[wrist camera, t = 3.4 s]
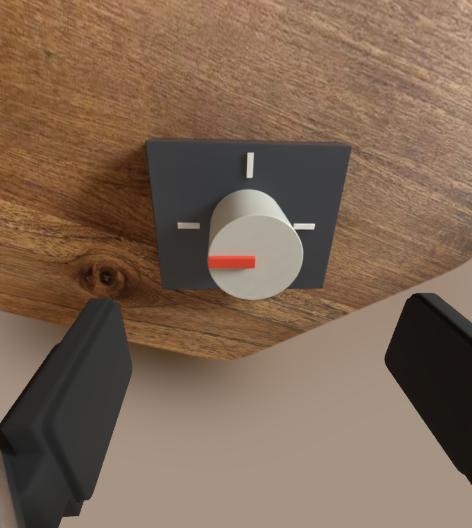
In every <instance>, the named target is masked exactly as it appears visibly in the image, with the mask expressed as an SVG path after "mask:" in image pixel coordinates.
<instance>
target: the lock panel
mask: <svg viewBox="0 0 472 528" xmlns="http://www.w3.org/2000/svg"><path fill="white" fill-rule="evenodd" d="M145 144H146V153H147V161H148V170H149V178H150V187H151V196H152V204H153V213H154V221H155V230H156V238H157V247H158V256H159V264H160V273H161V281H162V289H221V288H220V287H219V286H218V285H217V284H216V283H215V281H214V280H213V278H212V276H211V274H210V272H209V268H208V261H207V260H208V246H209V235H210V223H211V217H212V214H213V211H214V209H215V208H216V206H217V205H218V203H219V202H220V201H221V200H222V199H223V198H225V197H226V196H228V195H229V194H231V193H233V192H236V191H239V190H247V189H250V190H257V191H261V192H263V193H265V194H267V195H269V196H270V197H271V198H272V199H274V200H275V202H276V203H277V204H278V206H279V207H280V209H281V210H282V212H283V213H284V215H285V216H286V218H287V219H288V221H289V222H290V224H291V225H292V227H293V228H294V230H295V231H296V233H297V235H298V236H299V238H300V241H301V243H302V247H303V261H302V266H301V268H300V271H299V273H298V275H297V277H296V278H295V279H294V281H293V282H292V283H291V284H290V285H289V286H288V287H287V288H286V289H319V288H323V284H324V279H325V274H326V269H327V264H328V259H329V255H330V250H331V245H332V240H333V235H334V230H335V226H336V221H337V216H338V211H339V206H340V201H341V196H342V192H343V187H344V182H345V177H346V172H347V167H348V163H349V158H350V153H351V148H352V146H350V145H345V144H341V143H336V142H298V141H259V140H221V139H182V138H153V139H150V140H147V141H145Z"/></svg>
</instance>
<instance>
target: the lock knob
mask: <svg viewBox="0 0 472 528" xmlns="http://www.w3.org/2000/svg"><path fill="white" fill-rule="evenodd" d="M207 261H208V268H209V272H210V274H211V276H212V278H213V280H214V281H215V283H216V284H217V285H218V286H219V287H220V288H221V289H222V290H224V291H225V292H226V293H228V294H230V295H232V296H234V297H237V298H241V299H246V300H259V299H265V298H268V297H271V296H274V295H276V294H278V293H280V292H281V291H283V290H284V289H286V288H287V287H288V286H289V285H290V284H291V283H292V282H293V281H294V279H295V278H296V277H297V275H298V273H299V271H300V268H301V266H302V261H303V247H302V243H301V241H300V238H299V236H298V235H297V233H296V231H295V230H294V228H293V227H292V225H291V224H290V222H289V221H288V219H287V218H286V216H285V215H284V213H283V212H282V210H281V209H280V207H279V206H278V204H277V203H276V202H275V200H274V199H272V198H271V197H270V196H269V195H267V194H265V193H263V192H261V191H257V190H250V189H247V190H239V191H236V192H233V193H231V194H229V195H228V196H226V197H225V198H223V199H222V200H221V201H220V202H219V203H218V205H217V206H216V208H215V209H214V211H213V214H212V217H211V223H210V235H209V246H208V260H207Z"/></svg>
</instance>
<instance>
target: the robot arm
mask: <svg viewBox="0 0 472 528" xmlns="http://www.w3.org/2000/svg"><path fill="white" fill-rule="evenodd" d="M385 364H386V366H387V368H388V370H389V371H390V372H391V374H392V375H393V377H394V378H395V380H396V381H397V383H398V384H399V385H400V387H401V388H402V390H403V391H404V393H405V394H406V396H407V397H408V399H409V400H410V402H411V403H412V404H413V406H414V407H415V409H416V410H417V412H418V413H419V415H420V416H421V418H422V419H423V420H424V422H425V423H426V425H427V426H428V428H429V429H430V431H431V432H432V433H433V435H434V436H435V438H436V439H437V441H438V442H439V444H440V445H441V447H442V448H443V450H444V451H445V453H446V454H447V455H448V457H449V458H450V460H451V461H452V463H453V464H454V466H455V467H456V468H457V469H458V471H460V472H461V473H462V474H464V475H465V476H466V477H467V479H468V480H469V482H470V483H471V484H472V323H471V322H470V321H469V320H468V319H466V318H465V317H464V316H463V315H461V314H460V313H459V312H458V311H456V310H455V309H454V308H453V307H451V306H450V305H449V304H448V303H446V302H445V301H444V300H443V299H441V298H440V297H439V296H438V295H436V294H434V293H416V294H413V295H412V296H411V297H410V298H408V299H407V300H406V303H405V305H404V308H403V310H402V313H401V315H400V318H399V321H398V323H397V326H396V328H395V331H394V333H393V336H392V339H391V342H390V344H389V346H388V349H387V352H386V354H385ZM131 374H132V361H131V357H130V352H129V347H128V342H127V337H126V332H125V328H124V323H123V318H122V313H121V308H120V304H119V303H118V302H114V301H113V299H112V298H91V299H90V300H89V301H88V303H87V304H86V305H85V307H84V308H83V310H82V311H81V313H80V314H79V316H78V317H77V319H76V320H75V322H74V323H73V324H72V326H71V327H70V329H69V331H68V332H67V333H66V335H65V336H64V338H63V339H62V341H61V342H60V343H58V344H57V345H55V346H54V348H53V349H52V350H51V351H50V353H49V354H48V356H47V357H46V359H45V360H44V361H43V363H42V364H41V366H40V367H39V369H38V370H37V371H36V373H35V374H34V376H33V377H32V379H31V380H30V381H29V383H28V384H27V386H26V387H25V389H24V390H23V391H22V393H21V394H20V396H19V397H18V399H17V400H16V401H15V403H14V404H13V406H12V407H11V409H10V410H9V411H8V413H7V414H6V416H5V417H4V419H3V420H2V421H1V423H0V528H58V527H59V525H60V522H61V519H62V517H69V516H79V514H80V511H81V508H82V505H83V502H84V500H89V499H90V498H91V496H92V494H93V492H94V489H95V486H96V483H97V480H98V477H99V474H100V471H101V468H102V464H103V461H104V458H105V455H106V452H107V449H108V446H109V443H110V440H111V437H112V433H113V430H114V427H115V424H116V421H117V418H118V415H119V412H120V409H121V406H122V402H123V399H124V396H125V393H126V390H127V387H128V384H129V381H130V378H131Z"/></svg>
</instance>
